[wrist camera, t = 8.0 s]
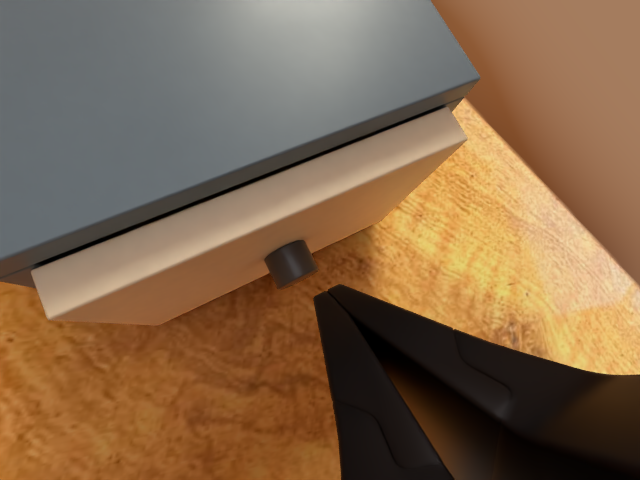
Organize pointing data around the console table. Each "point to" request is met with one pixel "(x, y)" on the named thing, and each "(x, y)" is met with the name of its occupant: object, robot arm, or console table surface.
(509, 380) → the robot arm
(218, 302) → the console table surface
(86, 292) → the drawer
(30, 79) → the cabinet
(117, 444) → the console table surface
